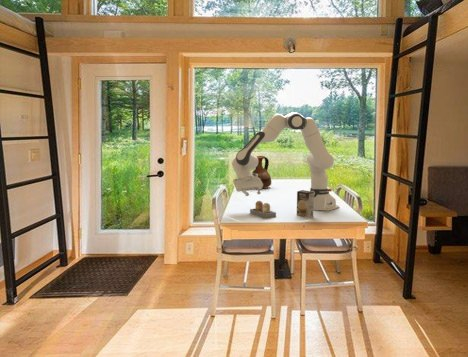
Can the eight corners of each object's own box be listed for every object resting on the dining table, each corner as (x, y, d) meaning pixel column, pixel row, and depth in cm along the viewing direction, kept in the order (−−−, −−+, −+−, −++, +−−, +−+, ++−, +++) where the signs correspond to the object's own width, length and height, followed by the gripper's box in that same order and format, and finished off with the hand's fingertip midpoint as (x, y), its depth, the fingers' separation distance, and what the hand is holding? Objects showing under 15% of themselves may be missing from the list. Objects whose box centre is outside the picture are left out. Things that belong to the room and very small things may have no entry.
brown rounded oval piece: (260, 212, 237) (259, 199, 235) (264, 213, 233) (264, 201, 231) (254, 213, 234) (254, 200, 233) (258, 214, 230) (258, 201, 229)
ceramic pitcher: (245, 187, 338) (245, 155, 334) (260, 185, 351) (261, 154, 347) (260, 190, 323) (260, 157, 319) (275, 188, 336) (276, 155, 332)
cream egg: (267, 214, 230) (267, 201, 229) (271, 216, 226) (271, 203, 225) (260, 215, 228) (261, 202, 227) (265, 217, 224) (265, 204, 223)
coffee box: (295, 216, 230) (296, 191, 228) (301, 214, 235) (302, 189, 232) (308, 218, 224) (308, 193, 222) (313, 216, 228) (314, 191, 226)
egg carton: (260, 212, 239) (260, 207, 239) (275, 217, 226) (275, 212, 225) (250, 214, 235) (250, 209, 234) (264, 219, 221) (265, 214, 221)
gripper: (233, 176, 236) (242, 193, 229) (259, 174, 247) (267, 190, 240) (230, 182, 240) (238, 199, 234) (255, 179, 251) (263, 195, 244)
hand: (253, 194), depth 237 cm, fingers open, 8 cm apart
